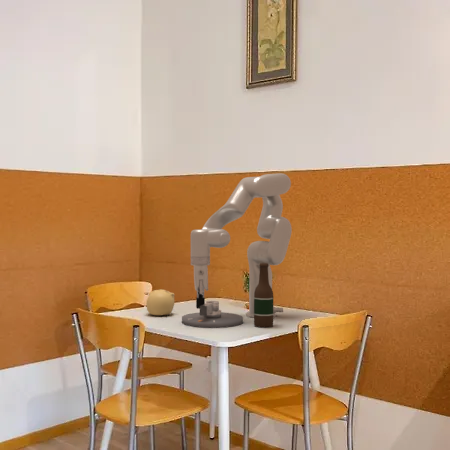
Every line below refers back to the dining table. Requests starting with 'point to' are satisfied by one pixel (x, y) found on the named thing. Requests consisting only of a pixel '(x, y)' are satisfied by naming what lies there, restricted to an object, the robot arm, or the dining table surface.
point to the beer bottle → (263, 300)
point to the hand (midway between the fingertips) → (200, 308)
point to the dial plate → (212, 320)
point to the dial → (210, 309)
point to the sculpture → (160, 302)
